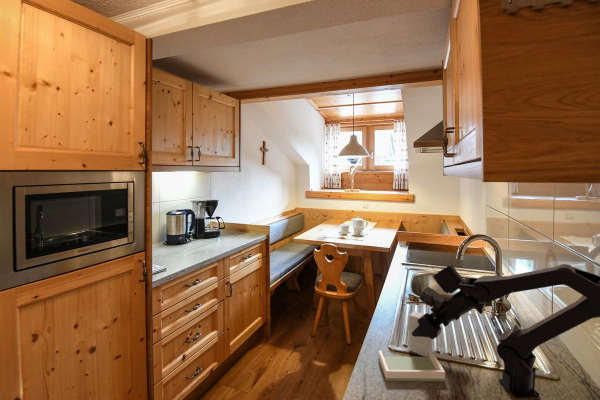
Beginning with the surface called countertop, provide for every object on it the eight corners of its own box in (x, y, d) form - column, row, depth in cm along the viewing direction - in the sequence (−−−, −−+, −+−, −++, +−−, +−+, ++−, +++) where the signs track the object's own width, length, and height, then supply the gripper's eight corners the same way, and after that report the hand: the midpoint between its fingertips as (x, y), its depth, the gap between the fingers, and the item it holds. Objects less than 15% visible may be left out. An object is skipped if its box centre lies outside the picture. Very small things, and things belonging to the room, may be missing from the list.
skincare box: (432, 352, 100) (433, 316, 99) (427, 358, 97) (428, 321, 96) (413, 345, 105) (414, 310, 103) (408, 350, 101) (408, 315, 100)
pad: (431, 359, 97) (431, 350, 96) (444, 381, 87) (445, 371, 86) (378, 358, 97) (378, 350, 97) (386, 380, 87) (386, 371, 87)
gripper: (447, 274, 102) (412, 297, 111) (425, 291, 88) (388, 317, 97) (472, 304, 98) (435, 326, 106) (454, 327, 84) (413, 350, 93)
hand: (418, 328), depth 101 cm, fingers open, 9 cm apart
